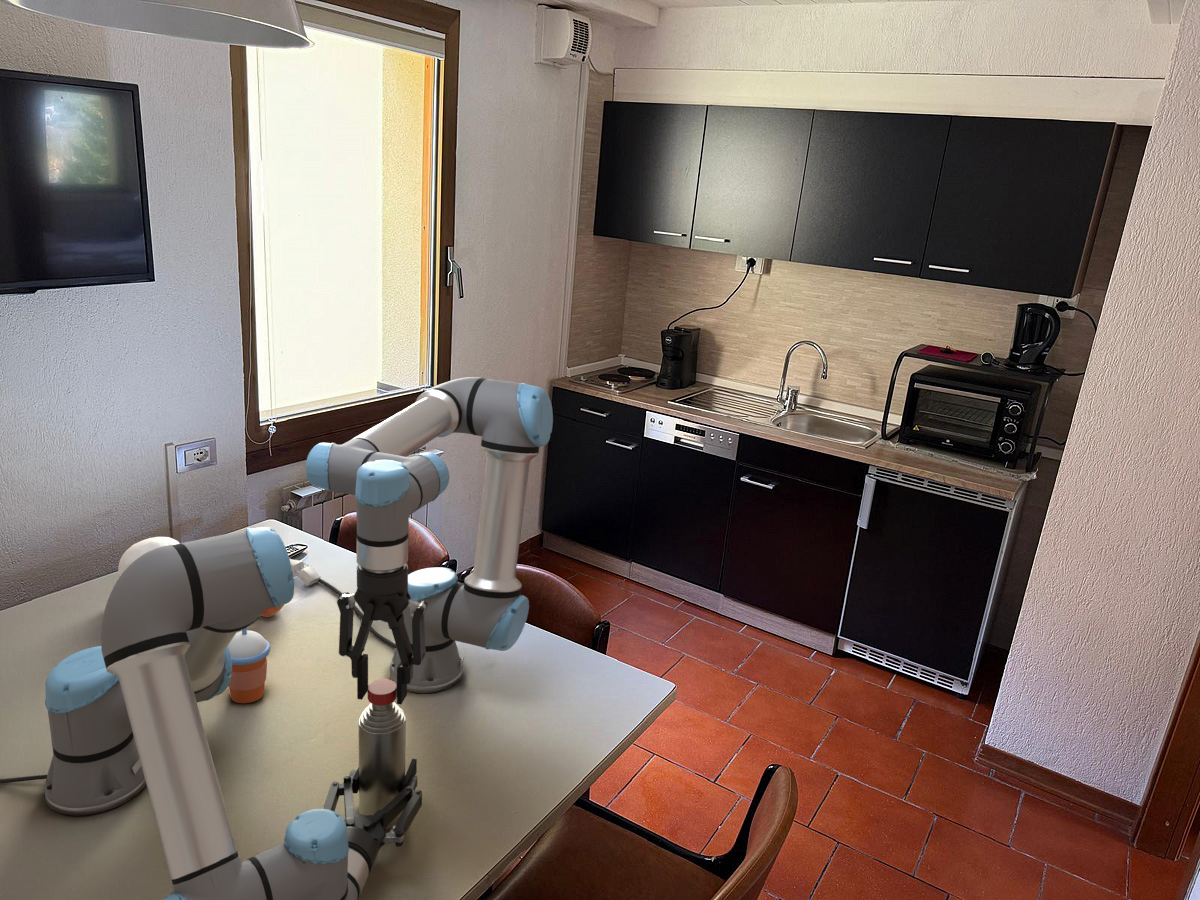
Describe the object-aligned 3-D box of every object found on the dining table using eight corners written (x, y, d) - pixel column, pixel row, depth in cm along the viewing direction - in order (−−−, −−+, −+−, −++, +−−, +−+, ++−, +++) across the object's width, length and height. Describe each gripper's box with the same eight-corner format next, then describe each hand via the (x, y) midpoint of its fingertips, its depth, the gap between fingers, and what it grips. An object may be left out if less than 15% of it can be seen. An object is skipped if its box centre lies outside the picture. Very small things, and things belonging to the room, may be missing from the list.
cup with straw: (255, 711, 165) (250, 629, 160) (212, 703, 167) (207, 621, 161) (281, 686, 174) (278, 607, 168) (240, 678, 175) (236, 599, 170)
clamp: (253, 565, 223) (254, 542, 221) (265, 560, 226) (266, 537, 224) (309, 593, 215) (310, 569, 213) (320, 588, 218) (321, 564, 216)
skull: (184, 624, 193) (181, 559, 189) (106, 604, 199) (101, 541, 195) (225, 601, 206) (223, 539, 202) (150, 583, 211) (147, 523, 207)
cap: (385, 686, 138) (385, 675, 138) (402, 697, 135) (403, 686, 135) (361, 697, 135) (361, 686, 134) (379, 709, 132) (379, 698, 132)
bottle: (369, 836, 137) (368, 708, 130) (352, 809, 142) (351, 684, 135) (411, 820, 141) (413, 695, 134) (394, 794, 147) (395, 672, 140)
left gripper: (276, 878, 124) (332, 775, 146) (413, 893, 123) (449, 787, 145) (274, 836, 122) (331, 738, 144) (414, 851, 121) (450, 750, 143)
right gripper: (450, 559, 131) (446, 691, 138) (332, 546, 132) (334, 676, 139) (436, 581, 124) (433, 718, 131) (312, 566, 125) (315, 703, 132)
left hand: (390, 763), depth 145 cm, fingers closed on bottle, 7 cm apart
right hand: (382, 696), depth 135 cm, fingers open, 6 cm apart
